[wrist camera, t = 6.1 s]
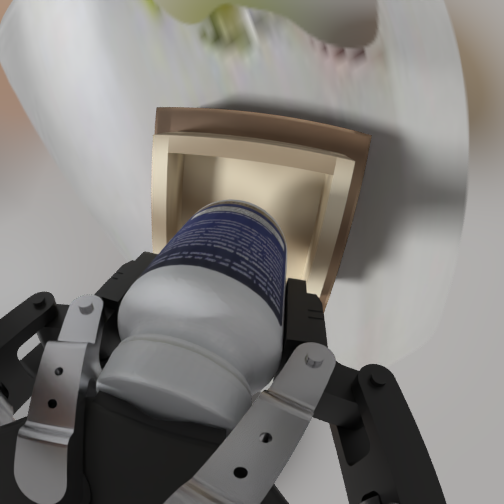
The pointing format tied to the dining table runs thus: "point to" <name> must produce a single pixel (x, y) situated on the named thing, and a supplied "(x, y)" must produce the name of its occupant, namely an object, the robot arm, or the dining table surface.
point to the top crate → (254, 191)
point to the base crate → (287, 132)
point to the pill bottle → (204, 320)
